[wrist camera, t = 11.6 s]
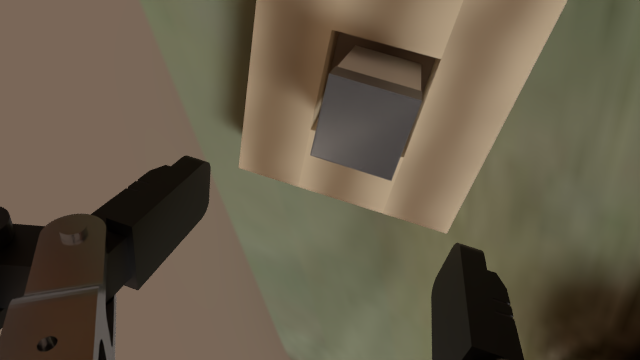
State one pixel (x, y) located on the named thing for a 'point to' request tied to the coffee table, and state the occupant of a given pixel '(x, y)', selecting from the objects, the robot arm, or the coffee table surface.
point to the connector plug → (368, 112)
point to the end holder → (436, 85)
